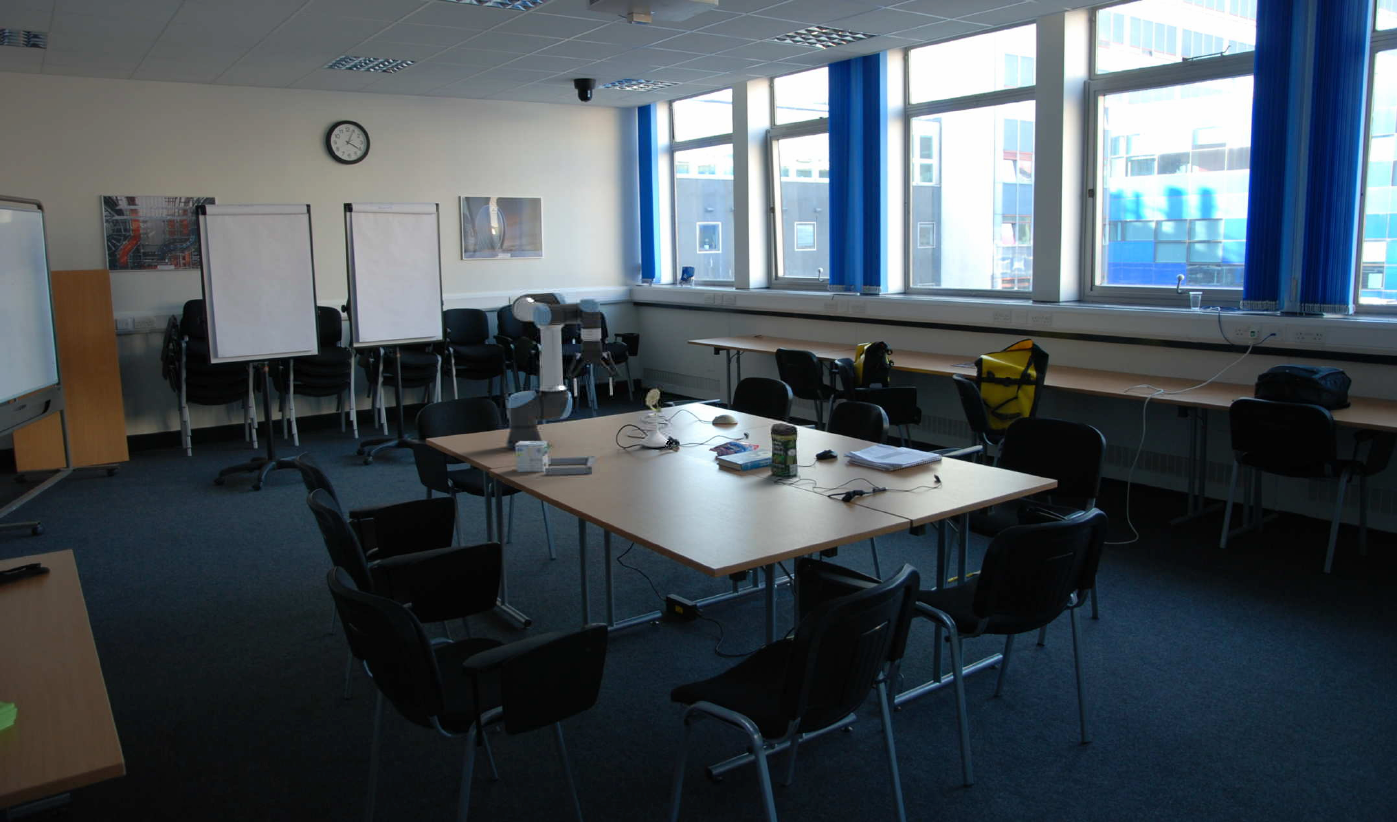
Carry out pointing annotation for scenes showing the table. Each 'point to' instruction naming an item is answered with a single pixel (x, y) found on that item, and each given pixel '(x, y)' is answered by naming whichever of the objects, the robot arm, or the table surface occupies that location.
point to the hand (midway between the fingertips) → (593, 395)
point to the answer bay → (571, 470)
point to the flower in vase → (654, 422)
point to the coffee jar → (784, 450)
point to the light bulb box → (531, 456)
